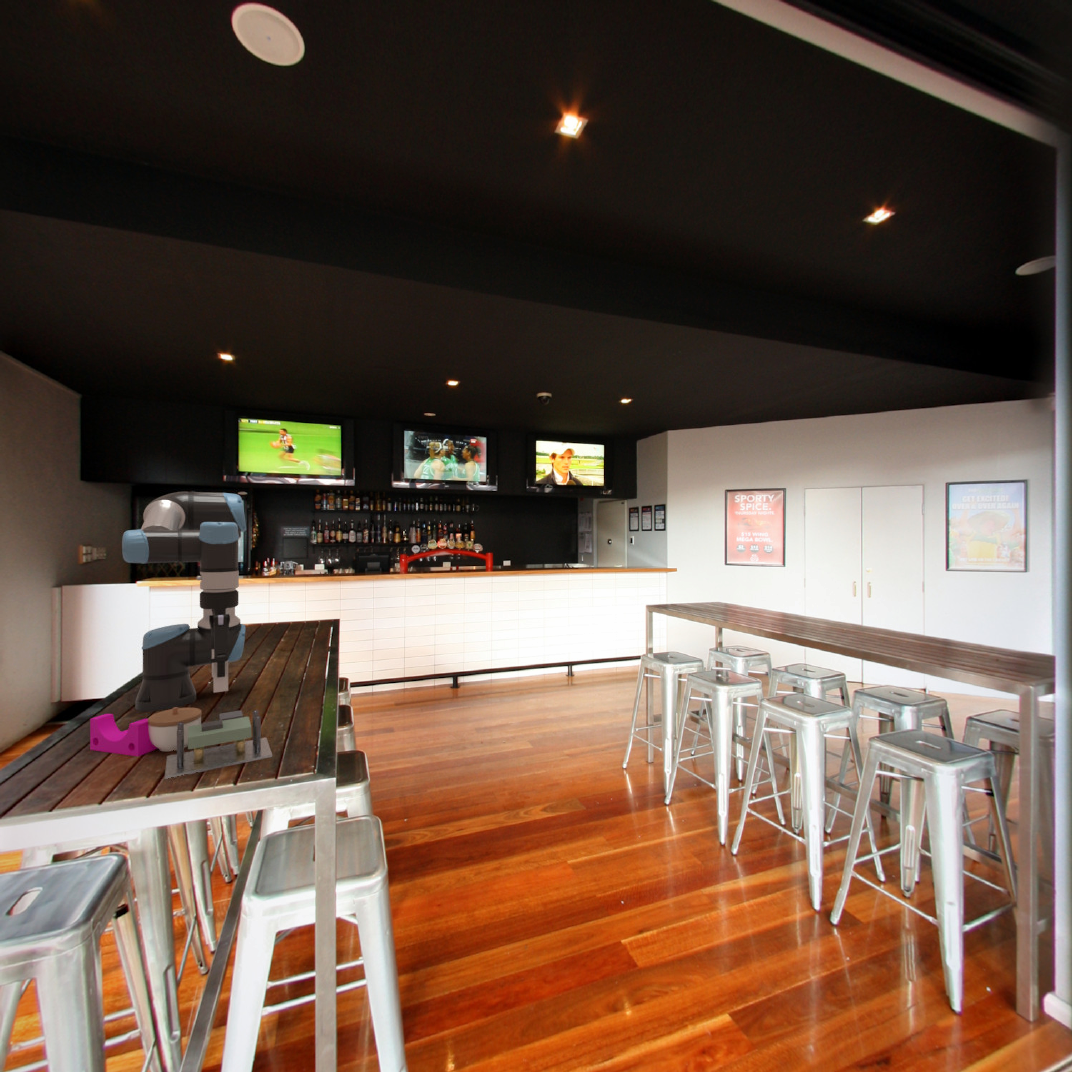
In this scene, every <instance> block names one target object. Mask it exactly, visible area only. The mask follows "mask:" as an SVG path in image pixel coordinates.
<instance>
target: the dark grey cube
mask: <svg viewBox="0 0 1072 1072" xmlns="http://www.w3.org/2000/svg"><path fill="white" fill-rule="evenodd" d="M242 711H243V710H234V711H228V712H223V713H219V714H218V715H219V719H218V720H222V721H224V720H230V719H236V718H242V717H244V715H243V712H242Z"/></svg>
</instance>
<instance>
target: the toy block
mask: <svg viewBox="0 0 1072 1072" xmlns="http://www.w3.org/2000/svg"><path fill="white" fill-rule="evenodd" d="M89 720H90V722H89V726H90V727H89V728H90V729H89V733H90V737H89V740H90V741H89V742H90V743H89V746H90V747H89V749H90V750H91V751H97V752H103V753H110V754H117V755H118V754H119V755H126V756H133V757H140V756H142V755H143V756H144V755H146V754H148V753H151V752H152V751H156V750H158V748H157V747H155V746H154V745H153V744H152V742H151V740H150V738H149V732H148V718H147V717H146V718H143V719H139V720H137V721H134V722H131V723H129V724H128V725H129V726H128V729H126V730H123V731H121V730H120V728H119V727H118V726H117V724H116V720H115V717H114V714H113V713H104V714H101V715H98V716H95V717H91V718H90V719H89ZM155 749H156V750H155Z"/></svg>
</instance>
